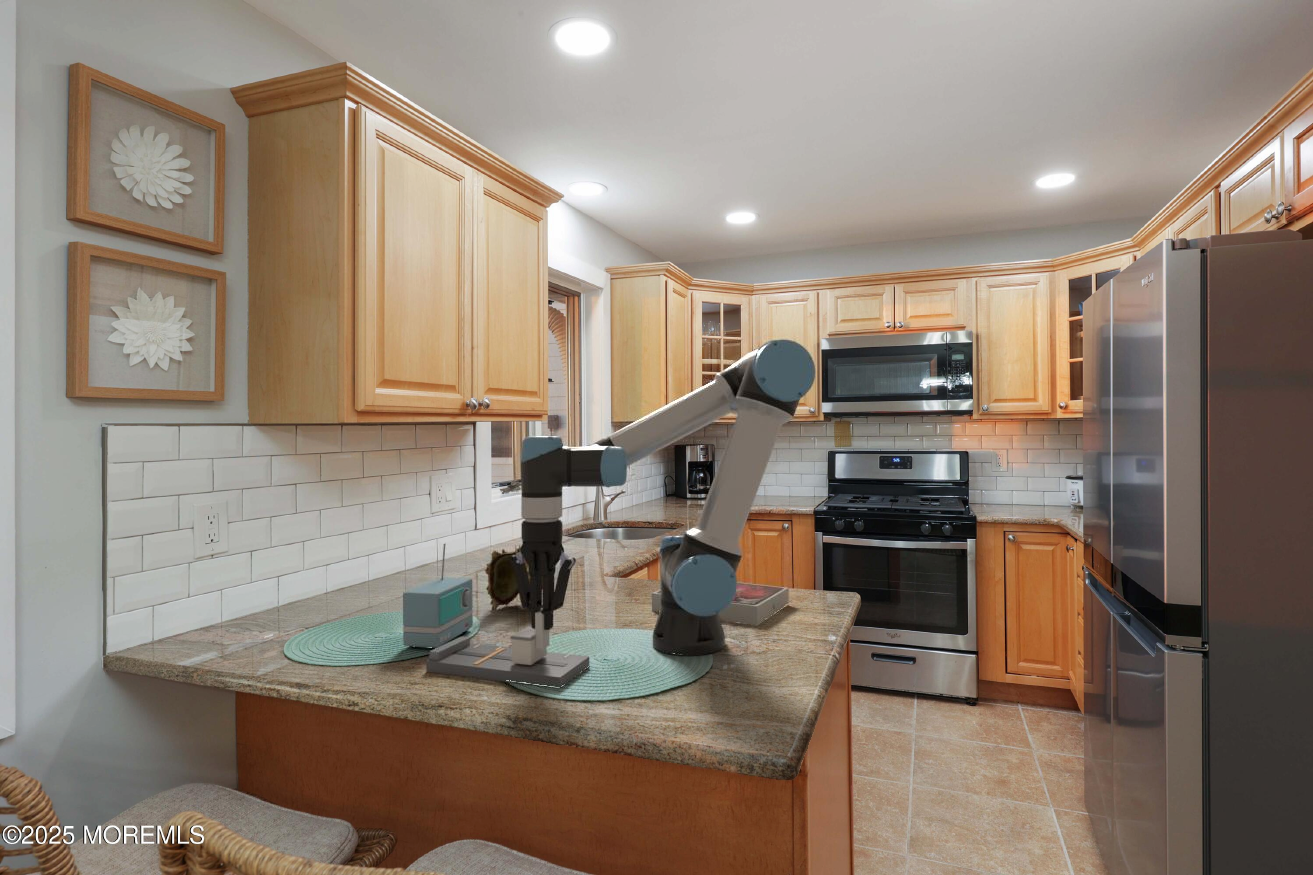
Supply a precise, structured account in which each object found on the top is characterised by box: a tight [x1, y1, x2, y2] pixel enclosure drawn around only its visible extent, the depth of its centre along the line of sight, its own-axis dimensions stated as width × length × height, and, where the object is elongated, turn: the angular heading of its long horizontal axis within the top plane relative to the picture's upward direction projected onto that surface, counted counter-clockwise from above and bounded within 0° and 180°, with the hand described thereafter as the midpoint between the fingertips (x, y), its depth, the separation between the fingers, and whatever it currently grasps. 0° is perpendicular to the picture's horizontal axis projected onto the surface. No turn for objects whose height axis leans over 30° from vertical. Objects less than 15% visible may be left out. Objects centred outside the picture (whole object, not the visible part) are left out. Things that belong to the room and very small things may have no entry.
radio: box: [402, 543, 474, 648], centre depth 149 cm, size 16×9×20 cm, turn 168°
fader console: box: [425, 636, 590, 687], centre depth 130 cm, size 28×12×4 cm, turn 71°
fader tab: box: [510, 626, 548, 665], centre depth 128 cm, size 4×6×5 cm
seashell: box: [484, 544, 530, 611], centre depth 175 cm, size 18×18×15 cm
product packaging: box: [651, 581, 790, 626], centre depth 175 cm, size 22×28×5 cm
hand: (542, 646), depth 127 cm, fingers closed
